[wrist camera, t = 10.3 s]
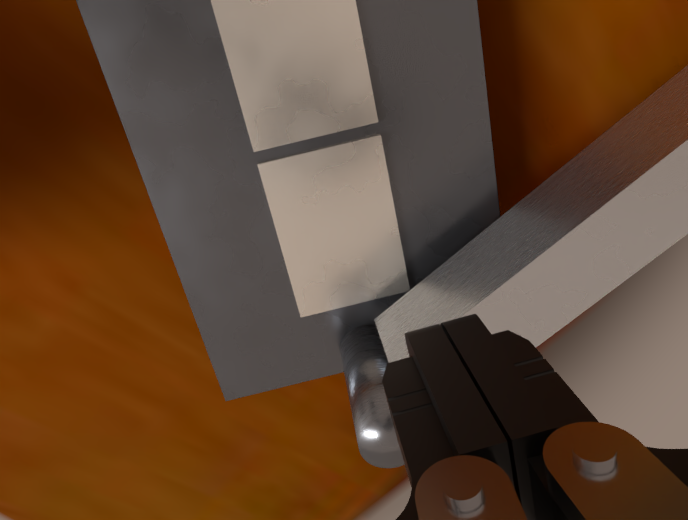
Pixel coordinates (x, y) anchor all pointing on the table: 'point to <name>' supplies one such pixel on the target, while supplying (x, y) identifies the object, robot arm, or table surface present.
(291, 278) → the plate
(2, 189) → the table surface
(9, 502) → the table surface
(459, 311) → the swing bar
